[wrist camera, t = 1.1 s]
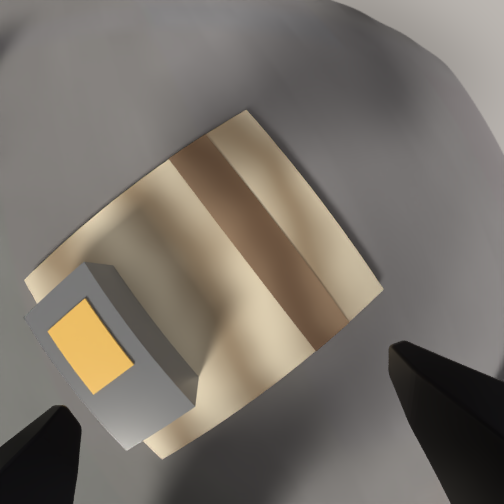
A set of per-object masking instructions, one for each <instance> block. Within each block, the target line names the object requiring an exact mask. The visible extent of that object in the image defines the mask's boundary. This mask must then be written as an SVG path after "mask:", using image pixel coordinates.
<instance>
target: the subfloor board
mask: <svg viewBox="0 0 504 504" xmlns="http://www.w3.org/2000/svg"><path fill="white" fill-rule="evenodd" d="M83 262H91V263H98V264H106V265H113V266H114V267H115V269H116V270H117V272H118V273H119V274H120V276H121V277H122V279H123V280H124V282H125V283H126V284H127V286H128V287H129V289H130V290H131V292H132V293H133V294H134V296H135V297H136V298H137V300H138V301H139V303H140V304H141V305H142V307H143V308H144V309H145V311H146V312H147V313H148V315H149V316H150V317H151V319H152V320H153V321H154V323H155V324H156V325H157V326H158V328H159V329H160V330H161V332H162V333H163V334H164V335H165V337H166V338H167V339H168V340H169V342H170V343H171V344H172V345H173V347H174V348H175V349H176V350H177V352H178V353H179V354H180V355H181V356H182V358H183V359H184V360H185V361H186V362H187V364H188V365H189V366H190V367H191V368H192V369H193V371H194V372H195V373H196V374H197V375H198V376H199V381H198V389H197V397H196V405H195V407H194V408H193V409H191V410H190V411H188V412H187V413H185V414H184V415H182V416H181V417H179V418H178V419H176V420H175V421H173V422H172V423H170V424H169V425H167V426H166V427H164V428H162V429H161V430H159V431H158V432H156V433H155V434H153V435H151V436H150V437H148V438H147V439H145V440H143V441H144V442H145V443H146V444H147V445H148V446H149V447H150V448H151V449H152V450H153V451H154V452H155V453H156V454H157V455H158V456H159V457H160V458H161V459H164V458H165V457H167V456H169V455H170V454H172V453H174V452H175V451H177V450H179V449H180V448H182V447H184V446H185V445H187V444H188V443H190V442H192V441H193V440H195V439H196V438H198V437H200V436H201V435H203V434H204V433H206V432H207V431H209V430H210V429H212V428H213V427H215V426H216V425H218V424H219V423H221V422H222V421H224V420H225V419H227V418H228V417H230V416H231V415H232V414H234V413H235V412H237V411H238V410H240V409H241V408H242V407H244V406H245V405H247V404H248V403H249V402H251V401H252V400H254V399H255V398H256V397H258V396H259V395H260V394H262V393H263V392H264V391H266V390H267V389H268V388H270V387H271V386H272V385H274V384H275V383H276V382H278V381H279V380H280V379H281V378H283V377H284V376H285V375H287V374H288V373H289V372H290V371H292V370H293V369H294V368H295V367H297V366H298V365H299V364H300V363H302V362H303V361H304V360H305V359H307V358H308V357H309V356H310V355H311V354H313V353H314V352H315V351H317V350H318V349H319V348H321V347H322V346H323V345H324V344H325V343H326V342H328V341H329V340H330V339H331V338H332V337H333V336H335V335H336V334H337V333H338V332H339V331H340V330H341V329H342V328H344V327H345V326H346V325H347V324H348V323H349V321H351V320H352V319H353V318H354V317H355V316H356V315H357V314H358V313H359V312H360V311H362V310H363V309H364V308H365V307H366V306H367V305H368V304H369V303H370V302H371V301H372V300H373V299H374V298H375V297H376V296H377V295H378V294H379V293H380V292H382V291H383V290H384V289H383V288H382V286H381V285H380V283H379V282H378V280H377V279H376V277H375V276H374V274H373V273H372V271H371V270H370V268H369V267H368V265H367V264H366V262H365V261H364V259H363V258H362V257H361V255H360V254H359V252H358V251H357V249H356V248H355V247H354V245H353V244H352V242H351V241H350V239H349V238H348V237H347V235H346V234H345V233H344V231H343V230H342V228H341V227H340V226H339V224H338V223H337V222H336V220H335V219H334V217H333V216H332V215H331V213H330V212H329V211H328V209H327V208H326V207H325V205H324V204H323V203H322V201H321V200H320V199H319V197H318V196H317V195H316V194H315V192H314V191H313V190H312V188H311V187H310V186H309V184H308V183H307V182H306V181H305V179H304V178H303V177H302V176H301V174H300V173H299V172H298V171H297V169H296V168H295V167H294V166H293V164H292V163H291V162H290V161H289V159H288V158H287V157H286V156H285V154H284V153H283V152H282V151H281V150H280V148H279V147H278V146H277V145H276V144H275V142H274V141H273V140H272V139H271V138H270V136H269V135H268V134H267V133H266V132H265V130H264V129H263V128H262V127H261V126H260V125H259V123H258V122H257V121H256V120H255V119H254V118H253V117H252V115H251V114H250V113H249V112H248V111H247V110H245V111H243V112H241V113H240V114H238V115H236V116H235V117H233V118H231V119H230V120H228V121H226V122H225V123H223V124H222V125H220V126H218V127H217V128H215V129H214V130H212V131H210V132H209V133H207V134H205V135H203V136H202V137H200V138H199V139H197V140H195V141H194V142H192V143H191V144H189V145H188V146H186V147H185V148H183V149H182V150H181V151H179V152H178V153H176V154H175V155H173V156H172V157H170V158H169V159H168V160H167V161H166V162H164V163H163V164H161V165H160V166H159V167H157V168H156V169H154V170H153V171H152V172H150V173H149V174H148V175H146V176H145V177H143V178H142V179H141V180H139V181H138V182H137V183H135V184H134V185H133V186H131V187H130V188H129V189H128V190H126V191H125V192H124V193H122V194H121V195H120V196H119V197H117V198H116V199H115V200H114V201H112V202H111V203H110V204H109V205H107V206H106V207H105V208H104V209H102V210H101V211H100V212H99V213H97V214H96V215H95V216H94V217H93V218H91V219H90V220H89V221H88V222H87V223H86V224H84V225H83V226H82V227H81V228H80V229H79V230H77V231H76V232H75V233H74V234H73V235H72V236H71V237H69V238H68V239H67V240H66V241H65V242H64V243H63V244H62V245H61V246H59V247H58V248H57V249H56V250H55V251H54V252H53V253H52V254H51V255H50V256H49V257H48V258H47V259H46V260H44V261H43V262H42V263H41V264H40V265H39V266H38V267H37V268H36V269H35V270H34V271H33V272H32V273H31V274H30V275H29V276H28V277H27V278H26V279H25V280H24V281H25V283H26V284H27V286H28V288H29V290H30V292H31V293H32V295H33V297H34V299H35V300H36V302H37V304H38V303H39V302H40V301H41V300H42V299H43V298H44V297H45V296H46V295H47V294H48V293H49V292H51V291H52V290H53V289H54V288H55V287H56V286H57V285H58V284H59V283H60V282H61V281H63V280H64V279H65V278H66V277H67V276H68V275H69V274H70V273H71V272H73V271H74V270H75V269H76V268H77V267H78V266H79V265H81V264H82V263H83Z"/></svg>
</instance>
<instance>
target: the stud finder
mask: <svg viewBox="0 0 504 504" xmlns="http://www.w3.org/2000/svg"><path fill="white" fill-rule="evenodd" d="M24 319H25V321H26V322H27V324H28V326H29V327H30V329H31V331H32V332H33V334H34V335H35V337H36V339H37V340H38V342H39V343H40V345H41V346H42V348H43V349H44V351H45V352H46V354H47V355H48V357H49V358H50V360H51V361H52V363H53V364H54V365H55V367H56V368H57V370H58V371H59V372H60V374H61V375H62V377H63V378H64V379H65V381H66V382H67V383H68V385H69V386H70V387H71V388H72V390H73V391H74V392H75V394H76V395H77V396H78V397H79V399H80V400H81V401H82V402H83V403H84V405H85V406H86V407H87V408H88V409H89V411H90V412H91V413H92V414H93V415H94V417H95V418H96V419H97V420H98V421H99V422H100V423H101V424H102V426H103V427H104V428H105V429H106V430H107V431H108V432H109V433H110V434H111V435H112V436H113V438H114V439H115V440H116V441H117V442H118V443H119V444H120V445H121V446H122V447H123V448H124V449H125V450H126V451H127V450H129V449H130V448H132V447H134V446H135V445H137V444H139V443H140V442H142V441H143V440H145V439H147V438H148V437H150V436H151V435H153V434H155V433H156V432H158V431H159V430H161V429H162V428H164V427H166V426H167V425H169V424H170V423H172V422H173V421H175V420H176V419H178V418H179V417H181V416H182V415H184V414H185V413H187V412H188V411H190V410H191V409H193V408H194V407H195V405H196V397H197V389H198V381H199V376H198V375H197V374H196V373H195V372H194V371H193V369H192V368H191V367H190V366H189V365H188V364H187V362H186V361H185V360H184V359H183V358H182V356H181V355H180V354H179V353H178V352H177V350H176V349H175V348H174V347H173V345H172V344H171V343H170V342H169V340H168V339H167V338H166V337H165V335H164V334H163V333H162V332H161V330H160V329H159V328H158V326H157V325H156V324H155V323H154V321H153V320H152V319H151V317H150V316H149V315H148V313H147V312H146V311H145V309H144V308H143V307H142V305H141V304H140V303H139V301H138V300H137V298H136V297H135V296H134V294H133V293H132V292H131V290H130V289H129V287H128V286H127V284H126V283H125V282H124V280H123V279H122V277H121V276H120V274H119V273H118V272H117V270H116V269H115V267H114V266H113V265H106V264H98V263H91V262H83V263H82V264H81V265H79V266H78V267H77V268H76V269H75V270H74V271H73V272H71V273H70V274H69V275H68V276H67V277H66V278H65V279H64V280H63V281H61V282H60V283H59V284H58V285H57V286H56V287H55V288H54V289H53V290H52V291H51V292H49V293H48V294H47V295H46V296H45V297H44V298H43V299H42V300H41V301H40V302H39V303H38V304H37V305H36V306H35V307H34V308H33V309H32V310H31V311H30V312H29V313H28V314H26V315H25V316H24Z"/></svg>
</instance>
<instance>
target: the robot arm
mask: <svg viewBox="0 0 504 504" xmlns="http://www.w3.org/2000/svg"><path fill="white" fill-rule="evenodd" d="M388 369H389V375H390V378H391V381H392V383H393V385H394V388H395V390H396V393H397V395H398V398H399V400H400V402H401V405H402V407H403V410H404V412H405V415H406V417H407V420H408V422H409V424H410V426H411V428H412V430H413V432H414V434H415V436H416V438H417V440H418V441H419V443H420V445H421V447H422V449H423V451H424V452H425V454H426V456H427V458H428V460H429V462H430V464H431V466H432V468H433V469H434V471H435V473H436V475H437V477H438V479H439V481H440V483H441V485H442V487H443V489H444V491H445V493H446V495H447V497H448V499H449V501H450V503H451V504H504V382H503V381H501V380H498V379H496V378H493V377H491V376H488V375H486V374H484V373H481V372H479V371H476V370H474V369H472V368H469V367H467V366H464V365H462V364H460V363H457V362H455V361H452V360H450V359H448V358H445V357H443V356H441V355H438V354H436V353H434V352H431V351H429V350H427V349H424V348H422V347H420V346H417V345H415V344H413V343H410V342H408V341H400V342H397V343H394V344H392V345H391V346H390V347H389V368H388ZM81 433H82V429H81V425H80V423H79V422H78V421H77V419H76V418H75V417H74V415H73V414H72V413H71V411H70V410H69V409H68V408H67V407H66V406H64V405H55V406H52V407H51V408H50V409H49V410H47V411H46V412H45V413H43V414H42V415H41V416H40V417H38V418H37V419H36V420H34V421H33V422H32V423H30V424H29V425H28V426H27V427H25V428H24V429H23V430H21V431H20V432H19V433H18V434H16V435H15V436H14V437H12V438H11V439H10V440H9V441H7V442H6V443H5V444H3V445H2V446H1V447H0V504H73V501H74V494H75V487H76V481H77V474H78V465H79V452H80V442H81Z"/></svg>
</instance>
